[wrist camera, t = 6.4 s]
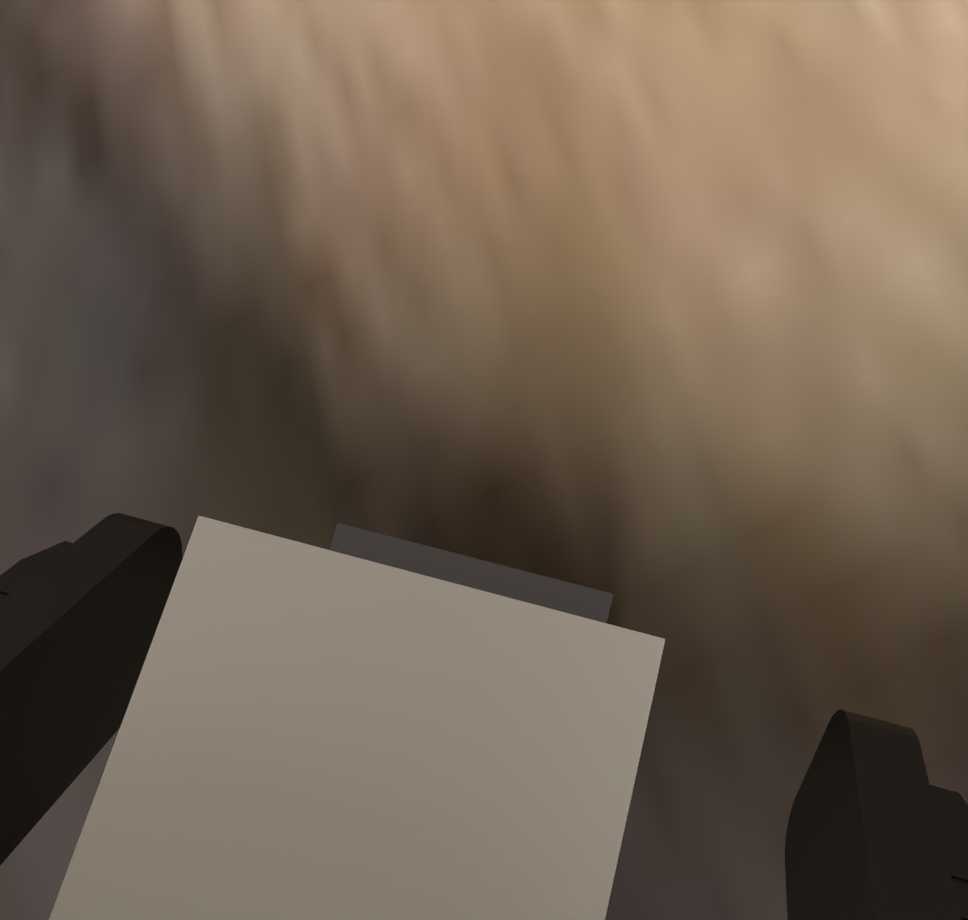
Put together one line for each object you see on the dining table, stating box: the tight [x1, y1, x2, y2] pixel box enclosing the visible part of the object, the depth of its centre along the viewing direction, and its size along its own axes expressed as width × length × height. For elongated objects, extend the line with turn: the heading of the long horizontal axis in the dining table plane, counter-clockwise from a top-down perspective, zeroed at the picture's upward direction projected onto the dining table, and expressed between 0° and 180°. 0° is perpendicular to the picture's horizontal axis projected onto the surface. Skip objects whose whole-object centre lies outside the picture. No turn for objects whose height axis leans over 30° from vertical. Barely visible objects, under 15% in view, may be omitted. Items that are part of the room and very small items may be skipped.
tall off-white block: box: [49, 516, 665, 920], centre depth 10 cm, size 4×4×9 cm
